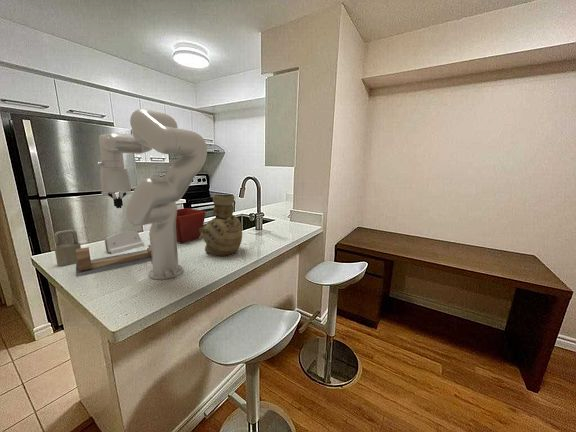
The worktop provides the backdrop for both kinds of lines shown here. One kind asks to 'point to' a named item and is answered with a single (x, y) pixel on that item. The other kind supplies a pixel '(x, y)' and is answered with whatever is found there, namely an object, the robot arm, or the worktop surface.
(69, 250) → the padlock
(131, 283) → the worktop surface
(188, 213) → the plant pot
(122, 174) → the robot arm
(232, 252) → the ceramic vessel
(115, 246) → the hinge
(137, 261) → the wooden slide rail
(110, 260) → the rail
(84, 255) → the slider leg
